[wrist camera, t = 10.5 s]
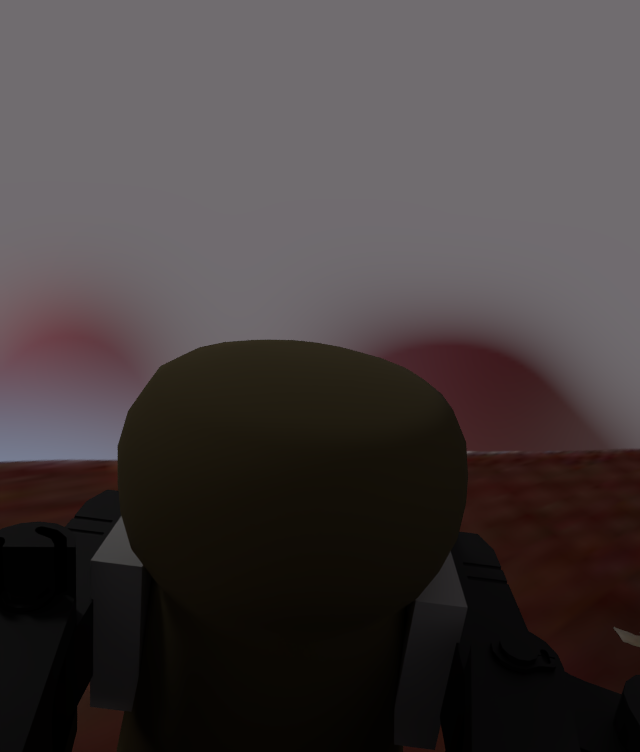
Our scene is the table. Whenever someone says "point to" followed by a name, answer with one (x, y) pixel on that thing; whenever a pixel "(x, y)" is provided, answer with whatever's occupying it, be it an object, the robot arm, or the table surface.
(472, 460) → the table surface
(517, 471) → the table surface
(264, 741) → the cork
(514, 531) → the table surface
